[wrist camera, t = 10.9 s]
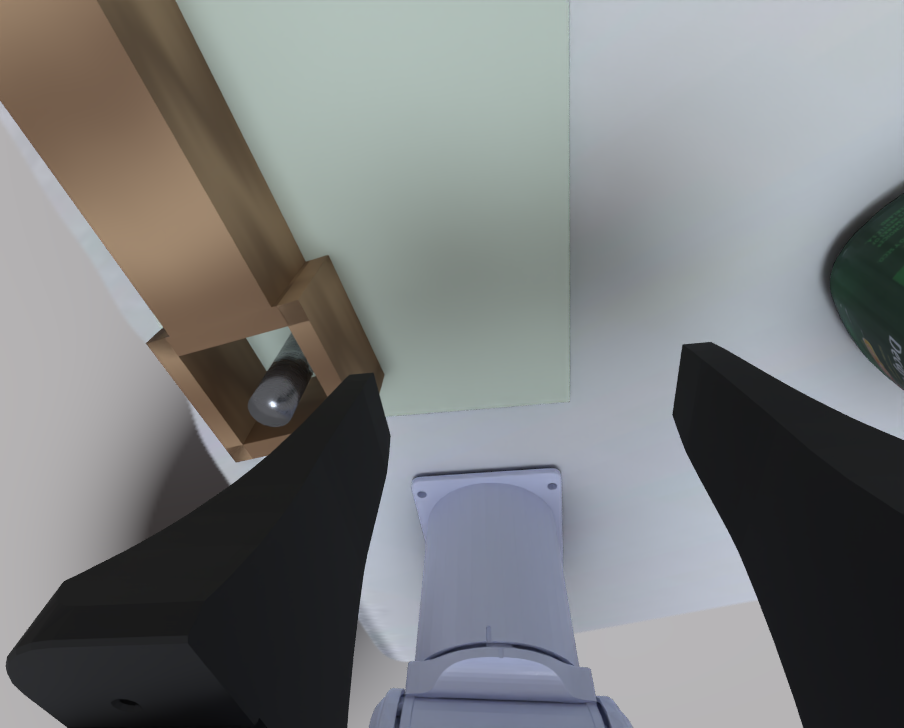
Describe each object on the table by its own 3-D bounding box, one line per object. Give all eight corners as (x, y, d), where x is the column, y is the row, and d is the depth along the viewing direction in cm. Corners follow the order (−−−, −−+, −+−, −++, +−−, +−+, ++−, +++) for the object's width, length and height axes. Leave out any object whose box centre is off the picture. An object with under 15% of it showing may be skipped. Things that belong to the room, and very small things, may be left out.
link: (384, 374, 23) (369, 433, 19) (269, 402, 24) (235, 462, 20) (85, -263, 12) (-61, -377, 9) (-93, -157, 13) (-282, -223, 10)
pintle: (329, 356, 22) (297, 425, 18) (295, 359, 22) (256, 428, 18) (319, 325, 21) (284, 390, 17) (284, 329, 21) (241, 394, 17)
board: (568, 395, 23) (569, 402, 23) (218, 424, 25) (214, 430, 25) (562, -812, 9) (566, -853, 8) (-271, -531, 11) (-302, -555, 10)
